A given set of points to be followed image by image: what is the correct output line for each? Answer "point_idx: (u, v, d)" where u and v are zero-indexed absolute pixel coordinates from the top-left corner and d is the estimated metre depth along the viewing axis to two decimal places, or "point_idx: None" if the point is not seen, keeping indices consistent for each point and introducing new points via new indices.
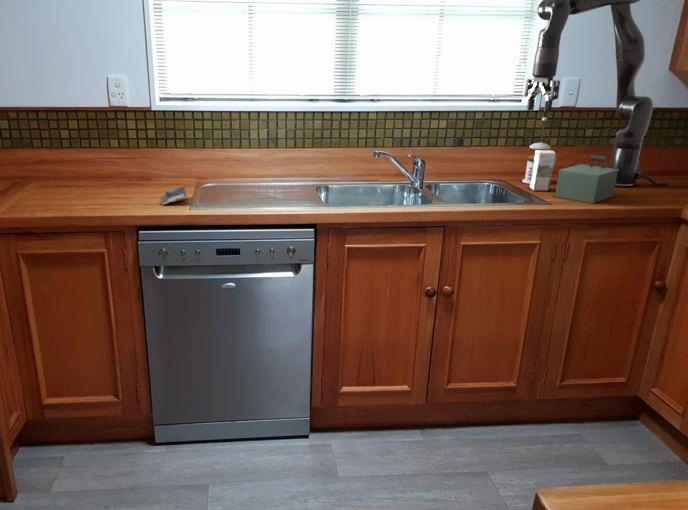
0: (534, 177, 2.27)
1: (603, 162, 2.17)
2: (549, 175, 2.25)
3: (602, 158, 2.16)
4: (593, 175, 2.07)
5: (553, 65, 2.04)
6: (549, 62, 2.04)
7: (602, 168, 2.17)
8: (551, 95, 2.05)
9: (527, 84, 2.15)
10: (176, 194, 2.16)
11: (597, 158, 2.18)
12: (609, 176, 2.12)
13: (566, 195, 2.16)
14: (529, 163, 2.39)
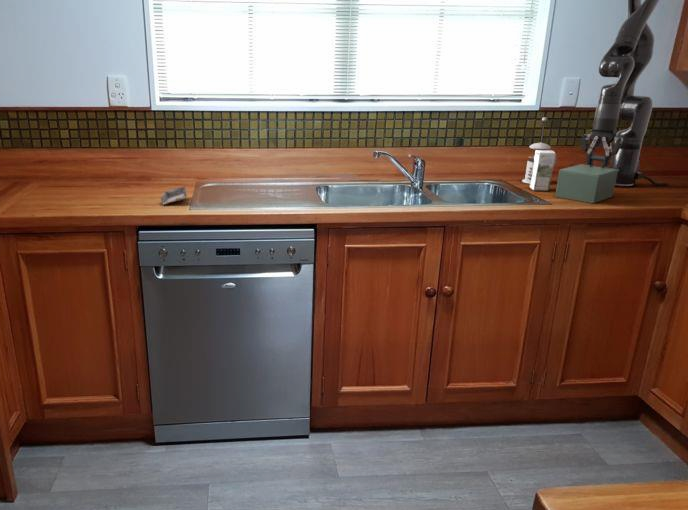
0: (534, 177, 2.27)
1: (603, 162, 2.17)
2: (549, 175, 2.25)
3: (602, 158, 2.16)
4: (593, 175, 2.07)
5: (617, 120, 2.11)
6: (614, 118, 2.09)
7: (602, 168, 2.17)
8: (614, 151, 2.13)
9: (584, 140, 2.19)
10: (176, 194, 2.16)
11: (597, 158, 2.18)
12: (609, 176, 2.12)
13: (566, 195, 2.16)
14: (529, 163, 2.39)
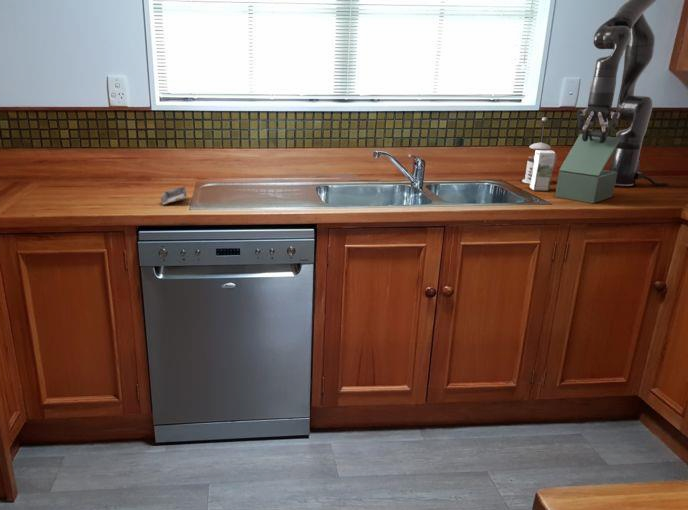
0: (534, 177, 2.27)
1: None
2: (549, 175, 2.25)
3: (599, 136, 2.09)
4: (593, 175, 2.07)
5: (613, 94, 2.02)
6: (610, 92, 2.01)
7: None
8: (610, 127, 2.05)
9: (579, 115, 2.11)
10: (176, 194, 2.16)
11: (594, 136, 2.10)
12: (609, 176, 2.12)
13: (566, 195, 2.16)
14: (529, 163, 2.39)
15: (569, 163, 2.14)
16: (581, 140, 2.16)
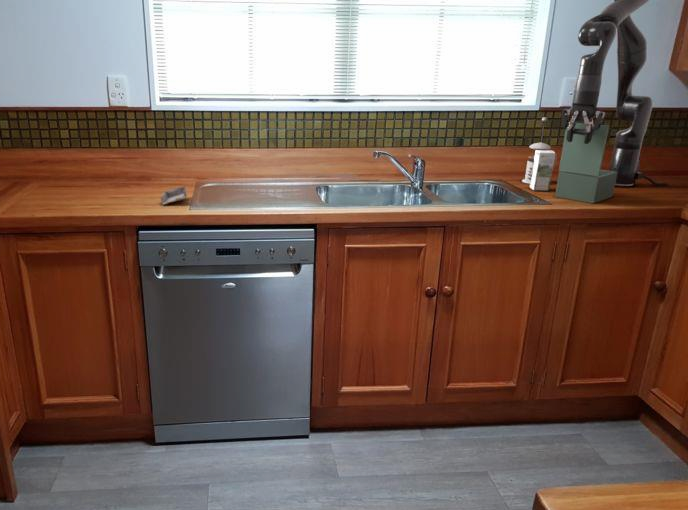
0: (534, 177, 2.27)
1: None
2: (549, 175, 2.25)
3: (585, 134, 2.02)
4: (593, 175, 2.07)
5: (598, 93, 1.95)
6: (596, 90, 1.94)
7: (592, 133, 2.04)
8: (595, 127, 1.97)
9: (563, 115, 2.03)
10: (176, 194, 2.16)
11: None
12: (609, 176, 2.12)
13: (566, 195, 2.16)
14: (529, 163, 2.39)
15: (566, 162, 2.12)
16: None
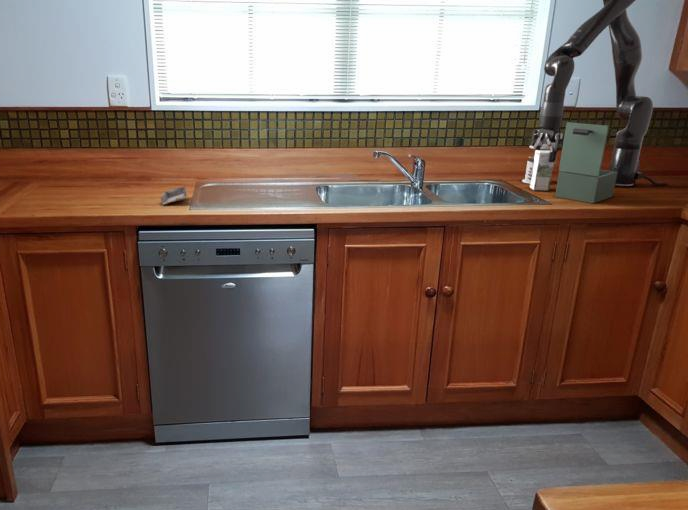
0: (534, 177, 2.27)
1: None
2: (549, 175, 2.25)
3: (585, 135, 2.02)
4: (593, 175, 2.07)
5: (558, 118, 2.17)
6: (554, 116, 2.16)
7: (592, 133, 2.03)
8: (555, 147, 2.18)
9: (533, 134, 2.28)
10: (176, 194, 2.16)
11: None
12: (609, 176, 2.12)
13: (566, 195, 2.16)
14: (529, 163, 2.39)
15: (566, 162, 2.12)
16: (570, 131, 2.09)
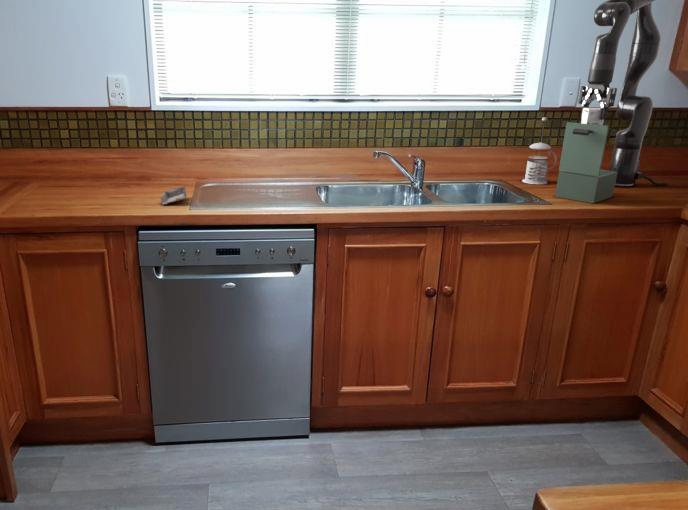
0: None
1: None
2: None
3: (585, 135, 2.02)
4: (593, 175, 2.07)
5: (610, 72, 2.02)
6: (606, 69, 2.02)
7: (592, 133, 2.03)
8: (607, 103, 2.03)
9: (581, 91, 2.13)
10: (176, 194, 2.16)
11: None
12: (609, 176, 2.12)
13: (566, 195, 2.16)
14: (529, 163, 2.39)
15: (566, 162, 2.12)
16: (570, 131, 2.09)
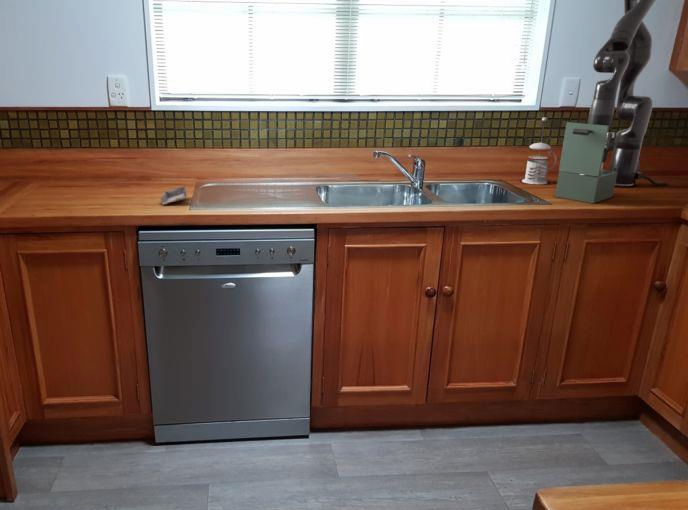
0: None
1: None
2: None
3: (585, 135, 2.02)
4: (593, 175, 2.07)
5: (609, 117, 2.06)
6: (605, 114, 2.06)
7: (592, 133, 2.03)
8: (607, 146, 2.07)
9: None
10: (176, 194, 2.16)
11: None
12: (609, 176, 2.12)
13: (566, 195, 2.16)
14: (529, 163, 2.39)
15: (566, 162, 2.12)
16: (570, 131, 2.09)
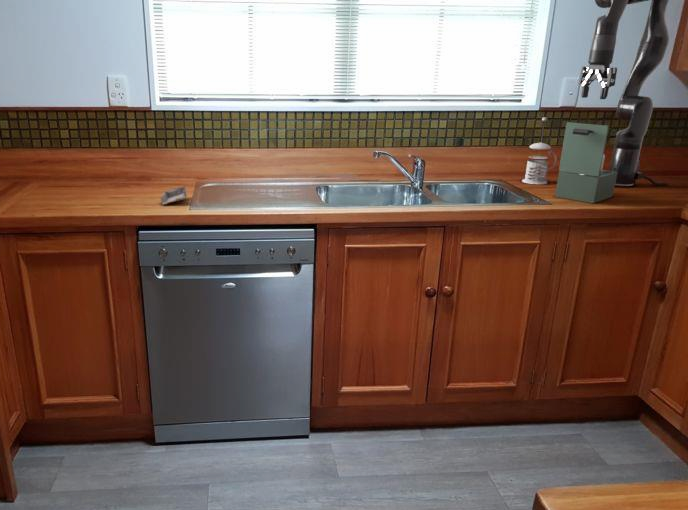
0: None
1: None
2: None
3: (585, 135, 2.02)
4: (593, 175, 2.07)
5: (610, 52, 2.07)
6: (606, 49, 2.06)
7: (592, 133, 2.03)
8: (608, 82, 2.07)
9: (582, 72, 2.18)
10: (176, 194, 2.16)
11: None
12: (609, 176, 2.12)
13: (566, 195, 2.16)
14: (529, 163, 2.39)
15: (566, 162, 2.12)
16: (570, 131, 2.09)
